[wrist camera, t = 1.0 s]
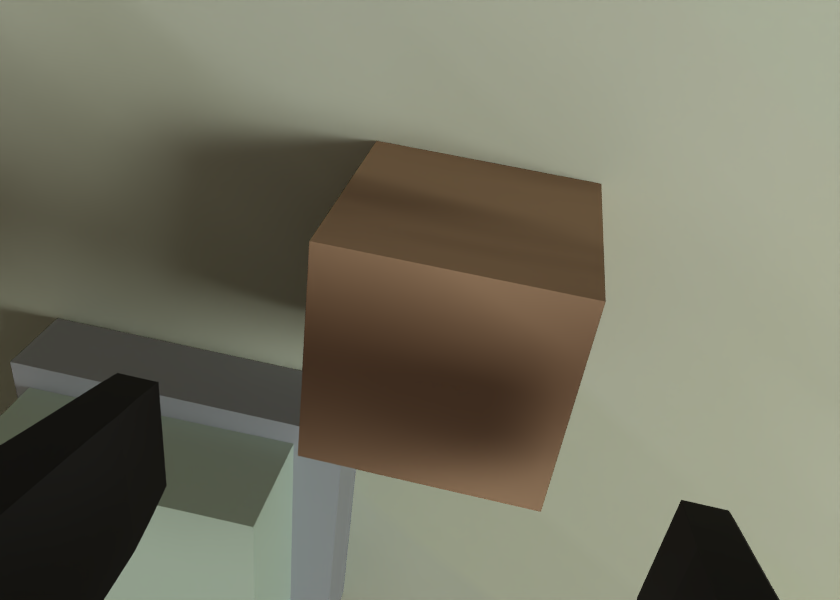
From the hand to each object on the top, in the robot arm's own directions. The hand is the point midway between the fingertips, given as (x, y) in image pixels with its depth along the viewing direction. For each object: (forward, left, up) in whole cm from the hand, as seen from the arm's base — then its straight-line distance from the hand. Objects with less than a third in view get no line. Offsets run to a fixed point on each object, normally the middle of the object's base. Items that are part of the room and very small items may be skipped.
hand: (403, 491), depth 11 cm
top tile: (-8, +6, -5) cm, 11 cm away
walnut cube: (0, 0, -7) cm, 7 cm away
